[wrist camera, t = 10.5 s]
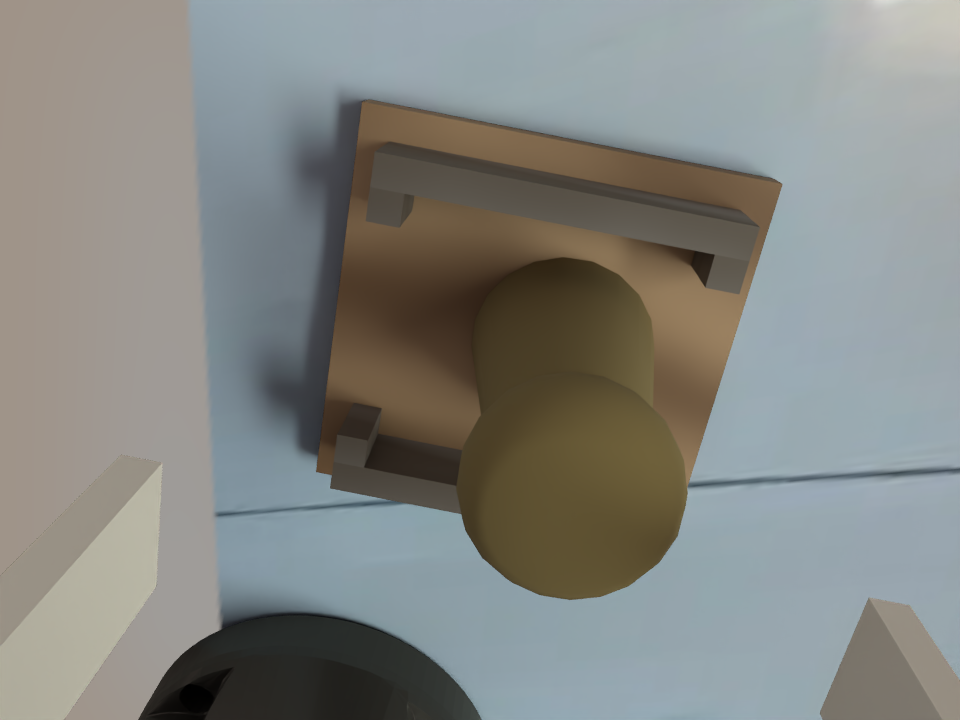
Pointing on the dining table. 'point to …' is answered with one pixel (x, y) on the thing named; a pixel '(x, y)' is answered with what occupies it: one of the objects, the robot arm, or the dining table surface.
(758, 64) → the dining table surface
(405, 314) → the socket
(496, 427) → the cork
